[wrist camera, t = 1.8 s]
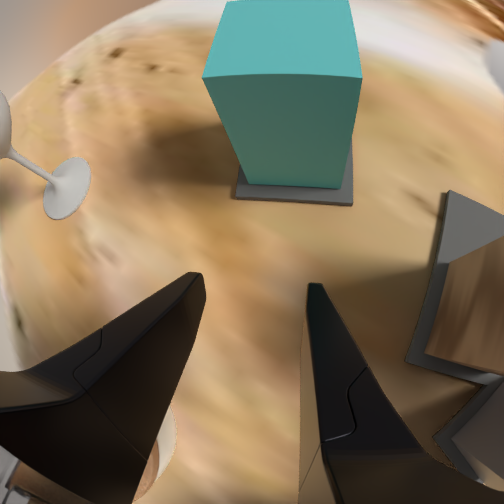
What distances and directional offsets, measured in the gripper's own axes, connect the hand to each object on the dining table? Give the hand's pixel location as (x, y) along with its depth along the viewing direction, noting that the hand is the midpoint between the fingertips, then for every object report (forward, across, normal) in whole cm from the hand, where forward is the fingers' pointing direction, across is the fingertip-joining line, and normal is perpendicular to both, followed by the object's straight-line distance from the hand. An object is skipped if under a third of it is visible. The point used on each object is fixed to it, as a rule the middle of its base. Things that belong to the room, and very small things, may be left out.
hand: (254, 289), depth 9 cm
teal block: (+18, 0, 0) cm, 18 cm away
